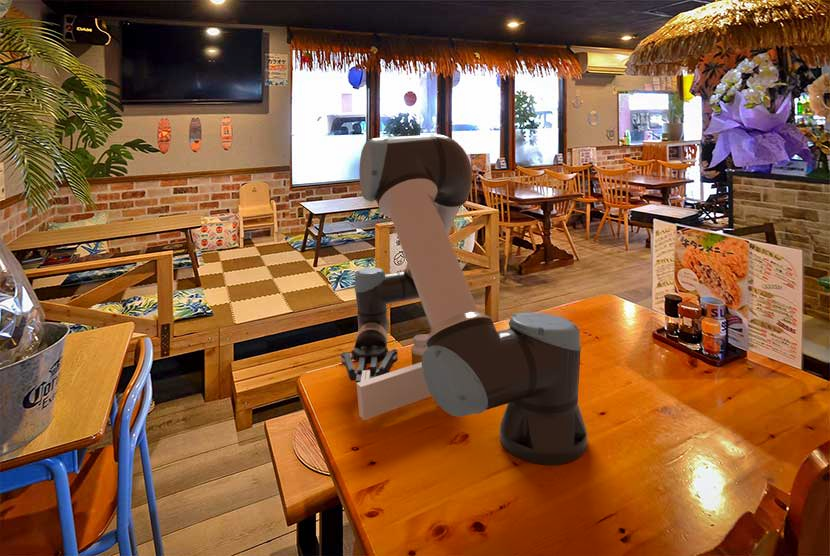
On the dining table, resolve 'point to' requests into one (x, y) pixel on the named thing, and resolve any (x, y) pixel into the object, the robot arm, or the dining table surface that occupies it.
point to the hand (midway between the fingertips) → (364, 391)
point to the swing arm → (391, 391)
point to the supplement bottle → (419, 348)
